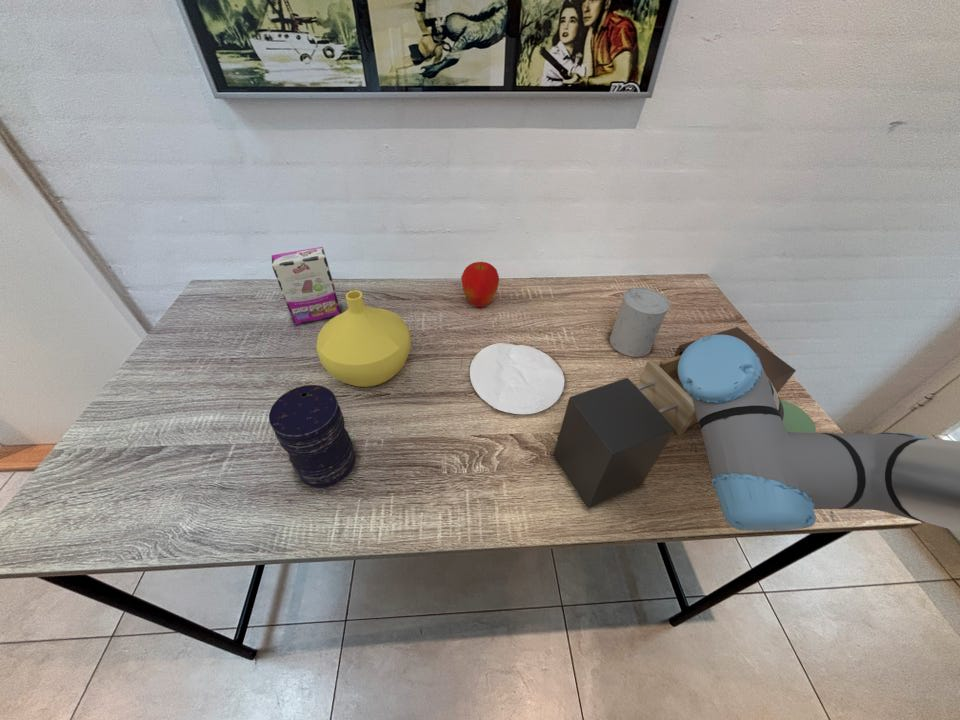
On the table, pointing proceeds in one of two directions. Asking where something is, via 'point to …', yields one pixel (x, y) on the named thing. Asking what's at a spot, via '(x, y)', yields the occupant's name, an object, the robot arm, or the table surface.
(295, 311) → the candy bar box
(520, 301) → the table surface
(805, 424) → the tin
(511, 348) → the plaque
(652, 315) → the grey concrete cylinder
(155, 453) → the table surface
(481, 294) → the apple
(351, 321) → the vase
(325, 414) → the dark blue cylinder
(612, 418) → the riser
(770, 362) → the cabinet
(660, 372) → the drawer
